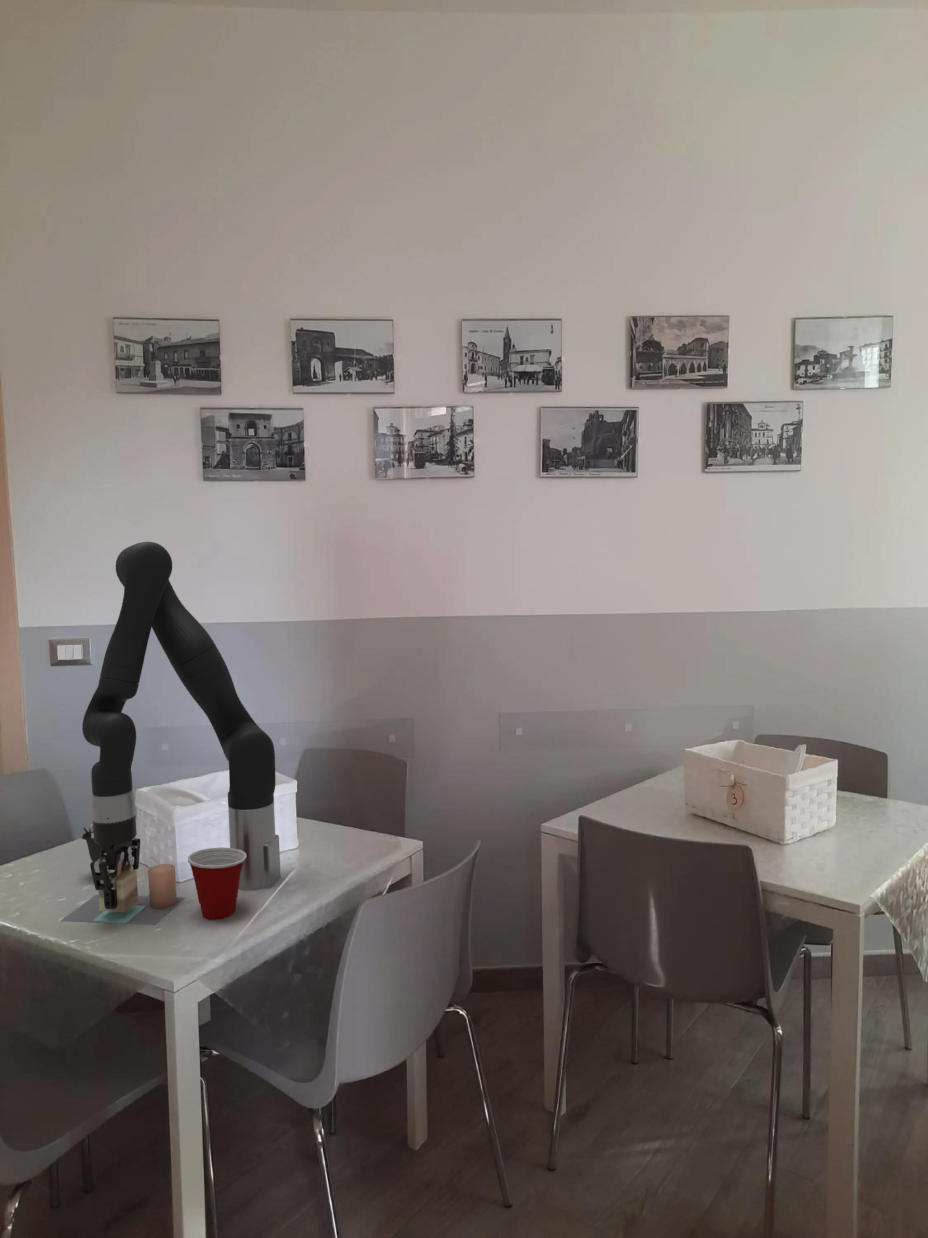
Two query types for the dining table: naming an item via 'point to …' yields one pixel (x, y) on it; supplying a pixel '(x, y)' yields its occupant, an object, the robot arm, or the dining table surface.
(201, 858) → the plastic cup
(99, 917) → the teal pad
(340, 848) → the dining table surface
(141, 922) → the slate mat
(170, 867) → the terracotta cylinder
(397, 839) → the dining table surface
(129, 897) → the beech block
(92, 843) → the sundae
